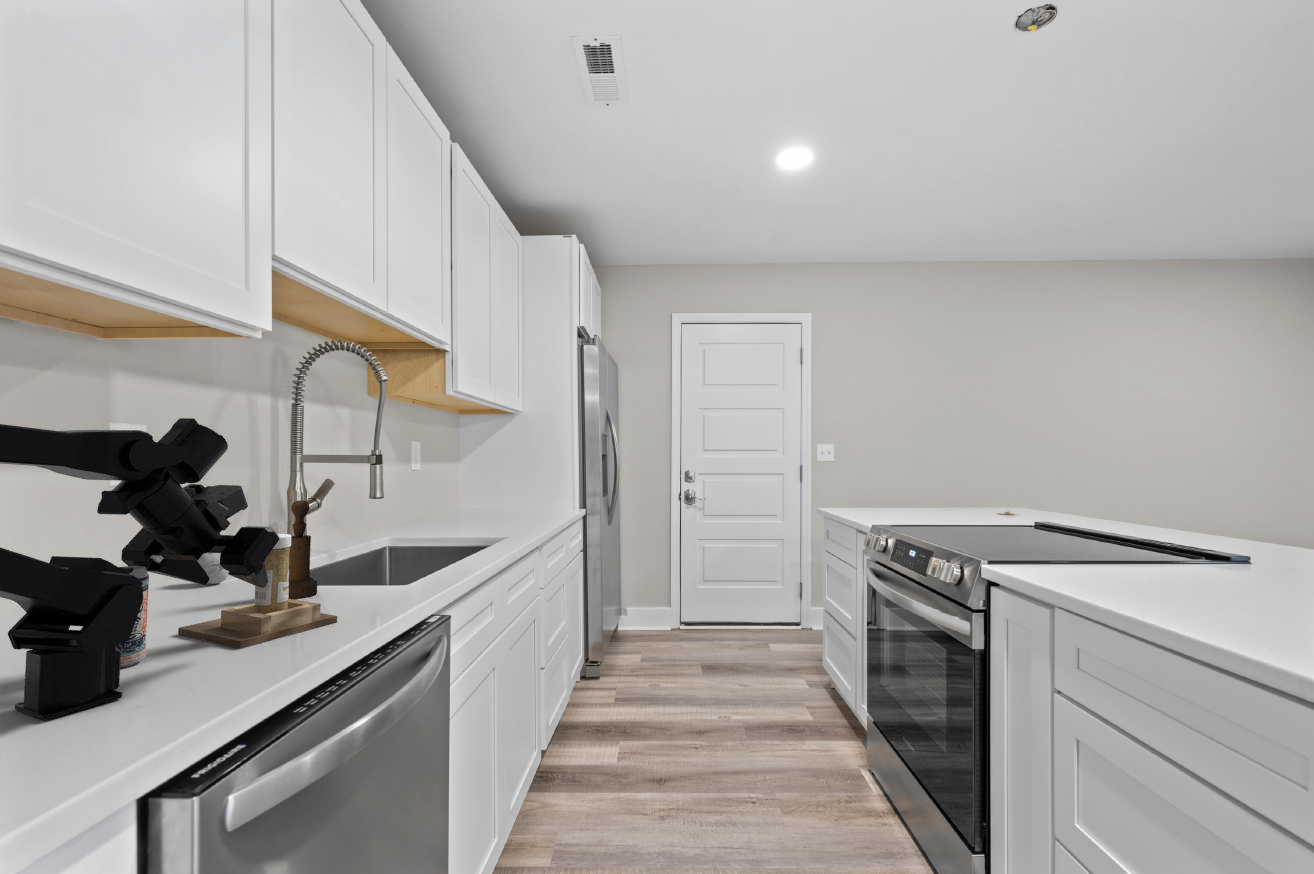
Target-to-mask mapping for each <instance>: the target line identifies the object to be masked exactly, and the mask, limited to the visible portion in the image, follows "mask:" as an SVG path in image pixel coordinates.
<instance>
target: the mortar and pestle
mask: <svg viewBox="0 0 1314 874" xmlns="http://www.w3.org/2000/svg"><path fill="white" fill-rule="evenodd" d="M290 510H291V512H292V515H293V516H294V519H295V520H294V523H293V524H292V530H293V534H294V535H291V546H290V547H289V548H290V550H289V593H288V599H294V600H299V599H306V598H310V597H313V596H315V595H317V594H318V581H317V580H315V579H314V577H310V576H311V575H310V574H311V545H312V544H311V542H312V541H311V540H312V536H311V535H308V534H307V535H306V534H304V533H305V532H306V528H307V523H305V517H306V515H307V514H308V512H309V511H310V503H308V501H307V500H304V499H302V500H301V499H300V500H295V501H294V502H293V503H292V504H291V506H290Z"/></svg>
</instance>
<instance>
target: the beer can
mask: <svg viewBox="0 0 1314 874" xmlns="http://www.w3.org/2000/svg"><path fill="white" fill-rule="evenodd" d="M119 567H120V568H133V569H134V570H133V571H132V572H131V573H130V575H134V576H135V577H137V578H139V579H140V580H141V581H142V583H143V585H142V589H143V602H142V605H141V608H140V611H139V614H138V616H137V619H136V622H135V625H134V627H133V630H132V633H131V636H130V638H129V640H128V641H126V642H122V643H119V644H116V650H118V651H120V652H121V662H120V669H122V668H123V669H124V668H127V667H133V666H134V665H136V664H138V663H140V661H142V660H144V659H145V658H146V651H147V647H146V646H147V628H148V627H147V626H148V608H149V607H148V604H149V602H148V601H149V586H150V585H149V583H150V581H149V580H150V573H149V572H147V571H146V569H145V567H143V566H127V565H126V566H119Z"/></svg>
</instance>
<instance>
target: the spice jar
mask: <svg viewBox="0 0 1314 874" xmlns="http://www.w3.org/2000/svg"><path fill="white" fill-rule="evenodd" d="M277 534H278V536H279V538H280V539H279V541H278V542H277V544H276V545H275V547H274V548H273V549H272V551H271V552H270V554H269V555H268V556H267V558H266V559H265V567H266V572H267V577H268V583H267V585H266V586H265V588H261V587H258V586H255V585H254V603H255V613H261V614H268V613H273V612H277V611H281V610H286V609H288V593H289V550H290V548H289V547H290V546H291V536H292V535H291V534H288V533H277Z"/></svg>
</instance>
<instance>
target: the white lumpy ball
mask: <svg viewBox="0 0 1314 874" xmlns="http://www.w3.org/2000/svg"><path fill="white" fill-rule="evenodd" d="M220 554H221V553H205V554H203V555H202V556H201V557H200V558H199V560H197V561H198V563H199V564H200V565H201V566H202V568H203V569H204V570H205V572H206V573H207V575H208V576H209V578H210V580H209V581H208V583H207V584H206V585H218V584H220V583H223V582H224V581H225V580H227V578H228V577H229V576H230V575H229V574H228V573H229V572H230V571H227V570H225V569H224V568H223V567H222V566H221V565H220Z"/></svg>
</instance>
